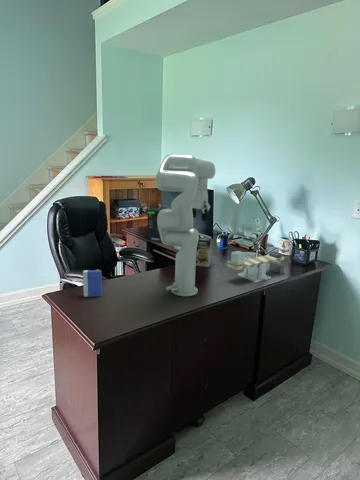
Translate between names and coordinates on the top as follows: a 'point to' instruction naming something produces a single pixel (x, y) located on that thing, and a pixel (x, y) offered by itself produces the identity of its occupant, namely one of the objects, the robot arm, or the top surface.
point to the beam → (257, 261)
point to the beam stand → (261, 271)
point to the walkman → (92, 283)
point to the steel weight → (238, 257)
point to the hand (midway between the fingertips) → (198, 219)
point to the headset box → (153, 224)
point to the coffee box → (203, 252)
